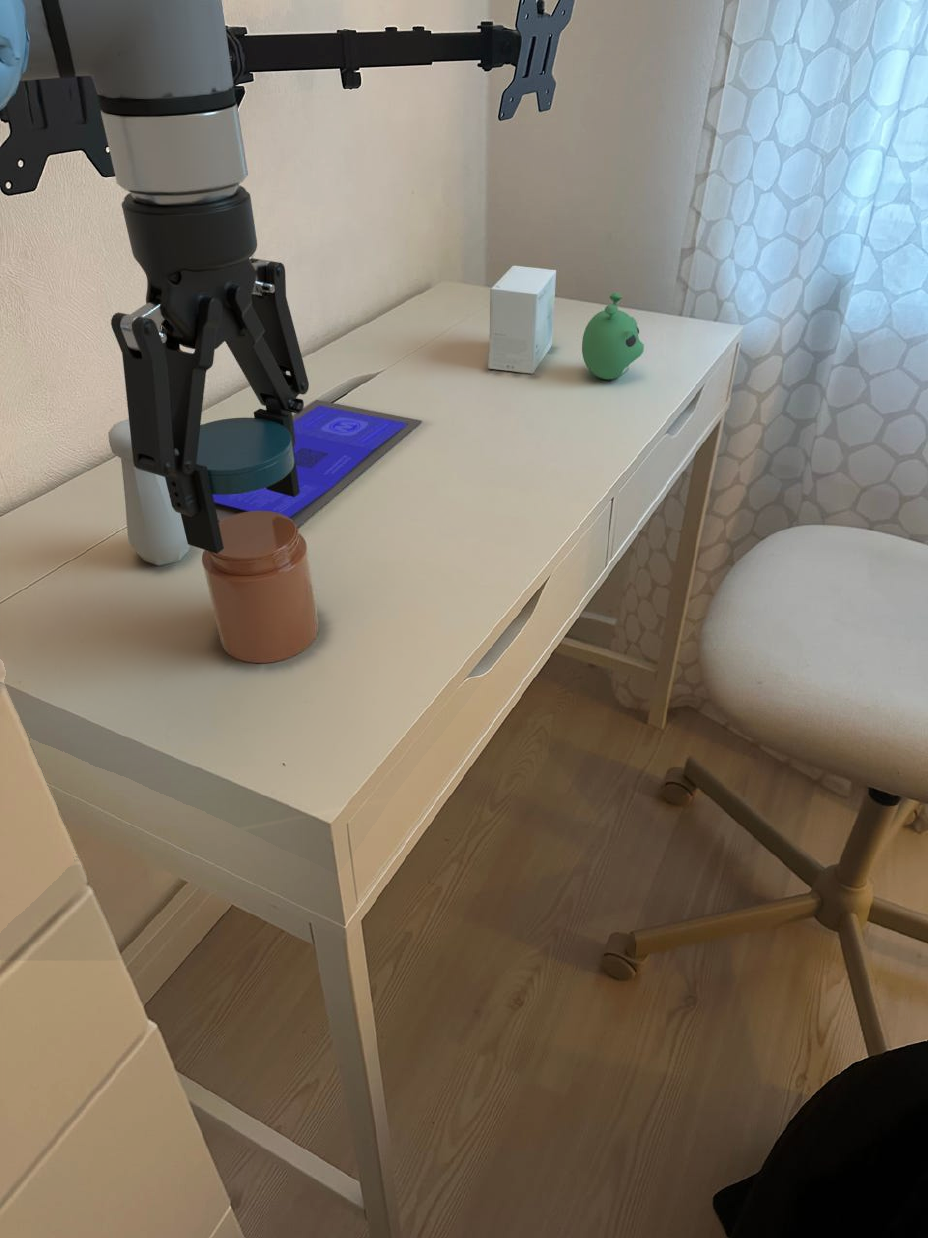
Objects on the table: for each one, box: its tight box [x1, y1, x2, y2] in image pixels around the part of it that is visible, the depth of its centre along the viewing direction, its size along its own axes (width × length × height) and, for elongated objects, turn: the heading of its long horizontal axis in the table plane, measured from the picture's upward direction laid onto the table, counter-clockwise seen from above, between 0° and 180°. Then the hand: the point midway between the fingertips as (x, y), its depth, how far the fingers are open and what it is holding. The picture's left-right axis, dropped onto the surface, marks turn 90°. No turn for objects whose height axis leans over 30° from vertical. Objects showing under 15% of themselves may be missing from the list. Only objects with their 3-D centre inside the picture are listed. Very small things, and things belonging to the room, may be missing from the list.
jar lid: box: [175, 417, 295, 495], centre depth 64 cm, size 8×8×2 cm
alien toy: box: [581, 292, 645, 380], centre depth 111 cm, size 7×8×10 cm
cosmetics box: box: [487, 265, 557, 375], centre depth 117 cm, size 10×6×10 cm, turn 162°
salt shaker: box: [107, 418, 191, 567], centre depth 80 cm, size 6×6×13 cm
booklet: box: [213, 407, 404, 518], centre depth 97 cm, size 12×25×1 cm, turn 154°
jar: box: [201, 511, 320, 664], centre depth 71 cm, size 8×8×10 cm
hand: (246, 517), depth 67 cm, fingers closed on jar lid, 8 cm apart
